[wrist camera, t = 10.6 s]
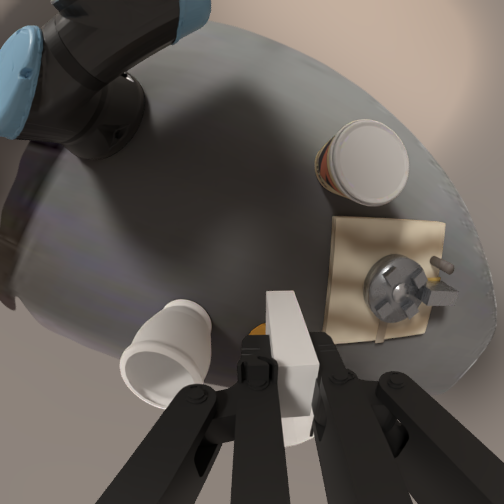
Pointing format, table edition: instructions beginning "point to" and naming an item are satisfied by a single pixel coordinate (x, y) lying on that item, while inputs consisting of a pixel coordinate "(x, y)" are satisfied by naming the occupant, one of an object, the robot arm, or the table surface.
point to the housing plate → (360, 262)
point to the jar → (168, 353)
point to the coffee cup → (364, 163)
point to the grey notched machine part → (402, 289)
